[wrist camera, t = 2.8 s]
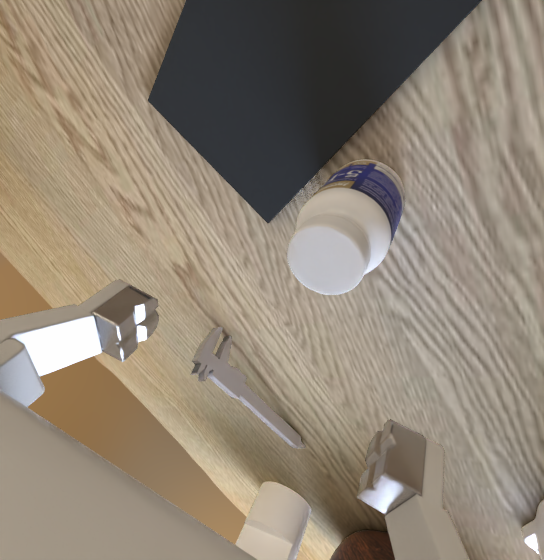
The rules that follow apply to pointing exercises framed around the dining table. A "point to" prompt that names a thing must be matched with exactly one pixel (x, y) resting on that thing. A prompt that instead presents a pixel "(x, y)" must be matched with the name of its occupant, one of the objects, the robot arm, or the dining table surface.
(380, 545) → the wooden bowl
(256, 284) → the dining table surface
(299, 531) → the cylinder with rectangular tab
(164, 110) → the felt mat
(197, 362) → the caliper
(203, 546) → the robot arm
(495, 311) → the dining table surface
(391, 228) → the pill bottle
